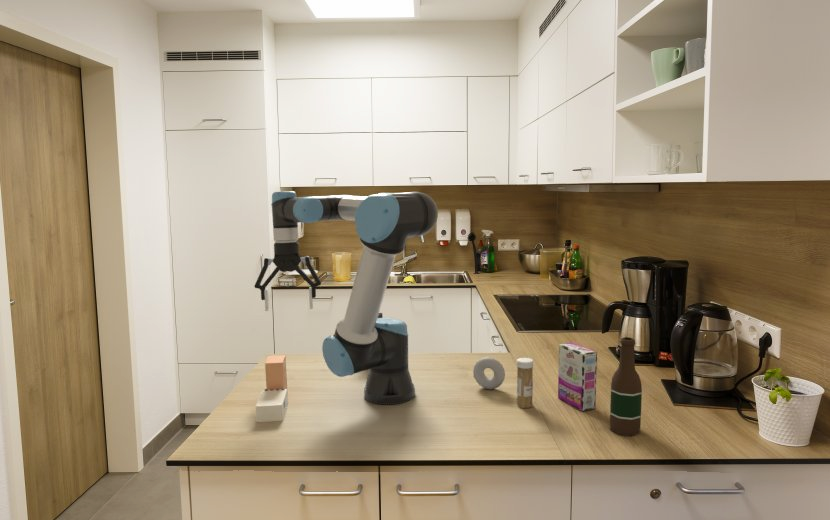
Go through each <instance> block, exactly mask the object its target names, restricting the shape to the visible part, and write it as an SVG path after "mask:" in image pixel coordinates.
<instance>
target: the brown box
mask: <svg viewBox="0 0 830 520" xmlns="http://www.w3.org/2000/svg"><path fill="white" fill-rule="evenodd" d="M286 356H287V355H285V354H283V355H281V354H279V355H268V357H267V358H266V361H265V363H264V370H265V383H266V385H265V387H266V389H268V390H270V389H273V390H275V389H282V388H285V389H287V394H288V379H287V375H288V374H287V361H286V360H287V358H286Z"/></svg>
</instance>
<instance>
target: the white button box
mask: <svg viewBox="0 0 830 520" xmlns="http://www.w3.org/2000/svg"><path fill="white" fill-rule="evenodd" d="M287 391H288V388H287V389H285V388H282V389H275V390H273V389H270V390H268V389H267V388H266V389H263V390H262V391H261V393H260V395H259V397H258V400H257V401H256V404H255V418H256V421H255V422H256V423H268V422H270V423H271V422H283V421H284V419H285V415H286V412H287V408H288V404H289V398H288V394H287Z"/></svg>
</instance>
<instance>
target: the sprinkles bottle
mask: <svg viewBox="0 0 830 520" xmlns="http://www.w3.org/2000/svg"><path fill="white" fill-rule="evenodd" d="M516 369H517V370H516V371H517V372H516V373H517V374H516V375H517V376H516V394H517V396H516V397H517V398H516V400H517V401H516V406H517V407H519V408H522V409H530V408H532V407H533V405H534V404H533V395H534V394H533V389H534V387H533V385H534V384H533V381H534V380H533V379H534V378H533V376H534V373H533V370H534V360H533V359H532V358H531V357H530V358H529V357H519V358H517V359H516Z"/></svg>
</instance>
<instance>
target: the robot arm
mask: <svg viewBox="0 0 830 520" xmlns="http://www.w3.org/2000/svg"><path fill="white" fill-rule="evenodd" d="M271 213H272V225H273V226H272V232H273V234H272V236H273V241H274V243H273V249H274V251H273V253H274V254H273V255H274V257H273V258H272V257H271V258H269V257H265V258H264V260H263V266H262V268H261V271H260V272H259V275H258V278H257V280H256V282H255V284H254V286H253V287H254V288H255V289H259V290H260V299H261V301H264V306H265V307H264V309H265V310H264V311H266V312H268V311H269V310H270V303H269V289H268V288H267V286H268V285H269V284H270V283H271V282H272V280H273V279H274V277H276V275H277V274H278V273H279V271H280V272H282V273H285V272H294V271H295V272H296V273H298V274H299V275H300V277H301V278H303V280H304V281H305V282H306V283H307V284H308V285H309V286H310V287H309V288H308V293H309V299H308V300H309V309H310V310H312V309H313V308H314V304H313V302H314V300H313V299H315V298H316V296H317V293H316V290H317V289H316V288H317V287H319V286H321V284H322V281H321V279H320V277H319V275H318V274H317V272H316V270H315V269H314V267H313V266H312V263H311V258H310V256H309V255H306V256H303V257H301V256H300V247H299V246H300V243H299V242H298V240H299V224H298V223H300V224H301V223H304V224H312V223H317V222H324V221H325V222H326V221H351V222H352V221H353V222H354V224H355V225H356V226H355V230H356V233H357V236H358V237H359V243H361V245H362V246H363V247H362V250H361V255H360V259H359V262H358V266H357V270H356V273H355V277H354V281H353V285H352V289H351V291H350V296H349V300H348V304H347V307H346V311H345V315H344V317H343V319H341V320H339V321H338V322H337V323H336V328H335V330H334V334H333V335H329V336H327V337H326V338H324V340H323V342H322V348H321V350H322V357H323V359H324V362H325V364H326V366H327V368H328V369H329V370H330V372H331V373H332V374H333V375H335V376H336V377H341V378H343V377H348V376H353V375H355V374H358V373H361V372H364V371H367V370H368V374H367V379H366V381H365V386H364V389H363V390H364V391H363V393H364V394H363V395H364V399H365V400H367V401H368V402H370V403H373V404H379V405H396V404H402V403H406V402H409V401H410V400H413V398H415V396H416V386H415V384H414V383H413V379H412V375H411V372H410V371H409V369H410V368H409V334H408V333H409V332H408V324H407V323H406V322H405V321H403V320H401V319H396V318H388V317H387V318H386V317H383V318H378V314H379V313H380V310H381V307H382V303H383V300H384V297H385V293H386V290H387V286H388V283H389V281H390V280H389V279H390V277H391V273H392V270H393V268H394V267H393V266H394V263H395V259H396V258H397V257H396V256H399V255H400V254H402V253H403V252H404V250H405V247H406V243H407V240H408V239H410V238H416V237H421V236H424V235H427V234H428V233H429V232H430V231H431V230H433V228H434V227H435V226H436V223H437V221H438V217H439V211H438V207H437V204H436V202H435V201H434V199H433V198H432V197H431V196H430V195H428V194H426V193H424V192H419V191H409V192H408V191H407V192H379V193H378V194H377V193H376V194H369V195H368V196H366V195H365V196H363V195H362V196H360V195H350V194H339V195H336V194H335V195H321V196H319V195H318V196H316V195H315V196H300V197H299V196H298V197H297V193H296V191H293V190H291V191H274V192H273V193H272V194H271ZM301 262H302V263H303V265H304V264H305V265H306V267H307V269H308V271H309V273H310V274H311V276H312V278H313V280H314V281H315V282H314V281H313V280H312V279H311V277H309V276H308V275H307V274H306V273H305V272H304V270H303V269H302V268H301V267H300V266H299V265H300V264H301ZM272 263H273V264H274V266H275V268H274V270H273V271H272V272H271V274H270V275H269V276H268V278H267V279H266V280H265V281H264V283H263V284H262V281H263V279H264V277H265V274H266V272H267V270H268V268H269V266H271V265H272Z"/></svg>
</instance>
